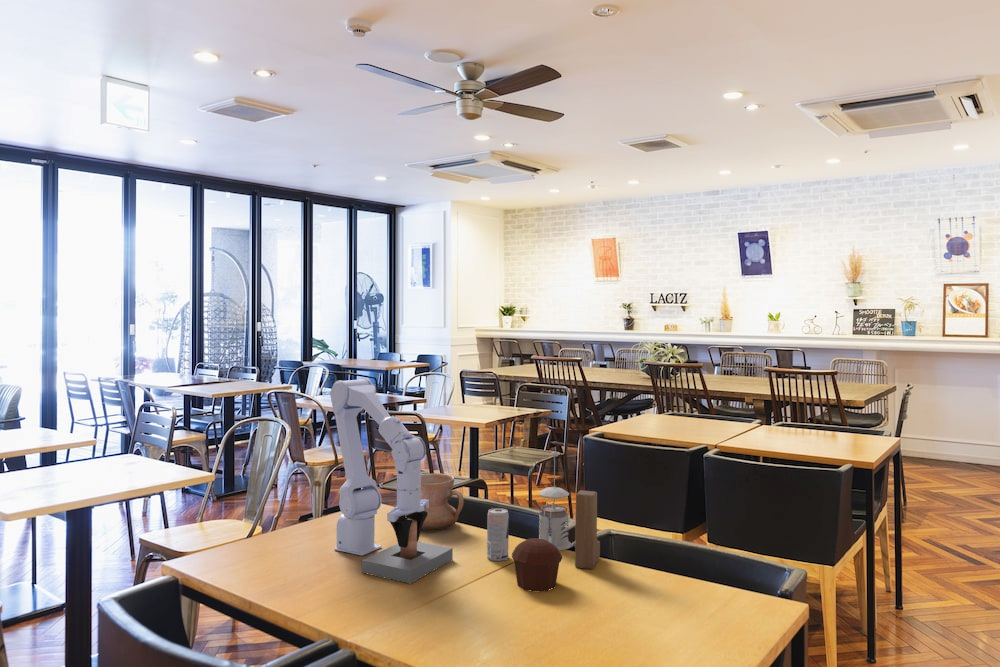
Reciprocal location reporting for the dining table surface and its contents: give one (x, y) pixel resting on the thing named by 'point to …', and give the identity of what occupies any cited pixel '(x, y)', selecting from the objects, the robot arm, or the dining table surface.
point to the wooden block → (586, 530)
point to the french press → (554, 517)
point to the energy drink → (497, 534)
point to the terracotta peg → (410, 543)
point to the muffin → (536, 564)
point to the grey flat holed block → (407, 562)
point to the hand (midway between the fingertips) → (408, 543)
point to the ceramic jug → (439, 501)
